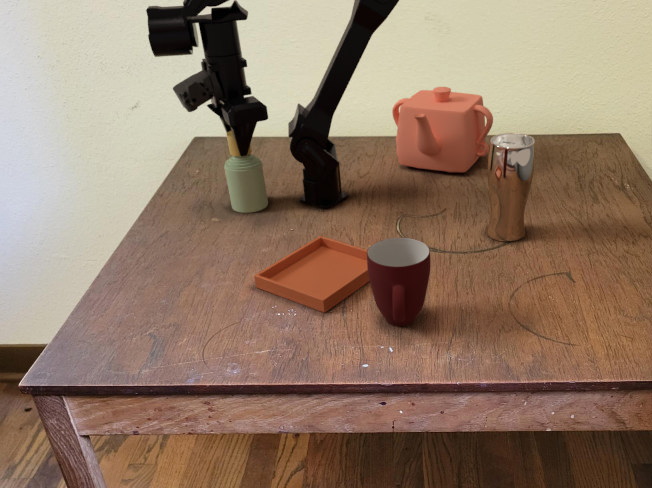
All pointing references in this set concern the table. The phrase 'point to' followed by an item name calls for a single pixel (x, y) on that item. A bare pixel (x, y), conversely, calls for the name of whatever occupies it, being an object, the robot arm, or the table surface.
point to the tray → (317, 274)
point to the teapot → (441, 130)
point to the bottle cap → (234, 145)
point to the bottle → (246, 183)
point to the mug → (399, 278)
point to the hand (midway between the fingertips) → (240, 152)
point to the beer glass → (509, 184)
